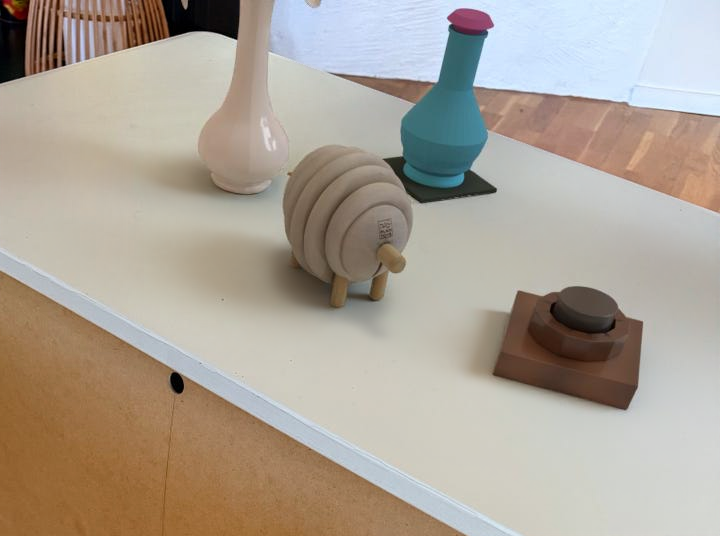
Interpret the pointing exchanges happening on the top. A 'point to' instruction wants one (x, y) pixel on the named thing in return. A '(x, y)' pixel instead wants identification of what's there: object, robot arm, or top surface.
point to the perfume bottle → (449, 109)
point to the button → (585, 310)
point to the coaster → (428, 193)
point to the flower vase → (247, 112)
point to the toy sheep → (347, 219)
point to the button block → (570, 353)
